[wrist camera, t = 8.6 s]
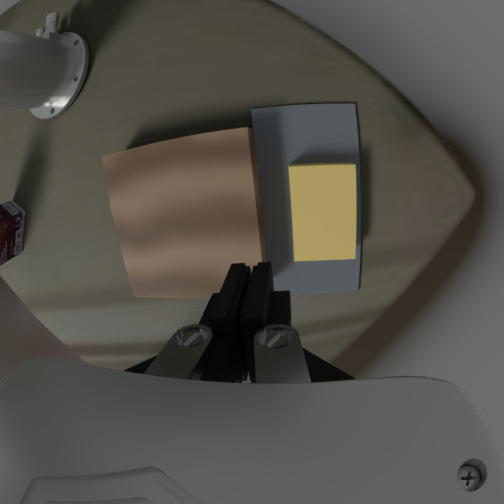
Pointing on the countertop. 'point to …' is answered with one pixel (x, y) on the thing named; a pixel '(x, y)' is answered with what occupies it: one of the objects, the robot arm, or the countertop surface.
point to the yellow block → (323, 211)
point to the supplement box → (11, 230)
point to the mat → (278, 188)
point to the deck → (187, 212)
